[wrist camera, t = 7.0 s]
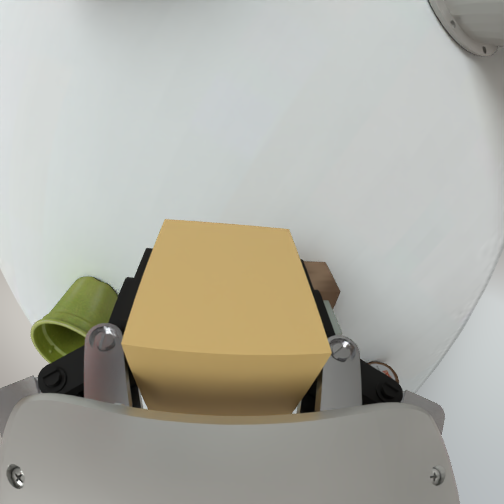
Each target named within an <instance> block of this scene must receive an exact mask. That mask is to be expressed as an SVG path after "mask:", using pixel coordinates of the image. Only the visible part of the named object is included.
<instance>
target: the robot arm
mask: <svg viewBox="0 0 504 504" xmlns="http://www.w3.org/2000/svg"><path fill="white" fill-rule="evenodd" d="M429 2H430V4H431V6H432V8H433V10H434V12H435V14H436V15H437V17H438V18H439V20H440V22H441V23H442V25H443V26H444V27H445V29H446V30H447V31H448V33H449V34H450V35H451V36H452V37H453V38H454V39H455V41H456V42H457V43H459V44H460V45H461V46H462V47H463V48H464V49H466V50H467V51H469V52H470V53H472V54H475V55H479V56H490V55H493V54H494V53H495V52H496V51H497V48H498V46H501V47H504V0H429ZM152 250H153V249H151V248H146V250H145V252H144V255H143V257H142V260H141V262H140V264H139V267H138V269H137V272H136V274H135V277H134V278H131V277H127V278H126V279H125V281H124V283H123V286H122V288H121V290H120V293H119V295H118V298H117V300H116V303H115V306H114V308H113V311H112V314H111V316H110V319H109V322H108V323H101V324H97V325H95V326H93V327H92V328H91V329H90V330H89V331H88V333H87V334H86V338H85V345H83V346H82V347H80V348H78V349H76V350H74V351H72V352H70V353H69V354H67V355H65V356H63V357H61V358H59V359H57V360H56V361H54V362H52V363H50V364H48V365H46V366H45V367H44V368H43V369H42V370H41V371H40V373H39V375H38V377H36V378H35V377H34V376H30V377H28V378H26V379H23V380H20V381H18V382H15V383H13V384H10V385H8V386H5V387H2V388H0V433H1V436H2V441H1V446H0V504H460V501H459V496H458V491H457V487H456V482H455V478H454V474H453V470H452V466H451V462H450V459H449V456H448V453H447V450H446V447H445V444H444V441H443V438H442V436H441V435H442V430H443V425H444V419H445V414H444V411H443V409H442V407H441V406H440V405H438V404H437V403H435V402H432V401H430V400H428V399H426V398H423V397H421V396H419V395H417V394H414V393H412V392H410V391H408V390H406V391H405V392H403V391H402V388H401V386H400V385H399V383H398V382H397V381H395V380H394V379H392V378H391V377H389V376H387V375H386V374H384V373H382V372H381V371H379V370H377V369H376V368H374V367H372V366H371V365H369V364H368V363H366V362H364V361H363V360H361V359H360V353H359V349H358V347H357V345H356V343H354V342H353V341H352V340H351V339H349V338H348V337H345V336H342V335H336V334H335V332H334V329H333V326H332V323H331V320H330V318H329V315H328V312H327V309H326V307H325V304H324V301H323V299H322V296H321V293H320V292H319V290H314V288H313V285H312V283H311V280H310V277H309V274H308V272H307V269H306V266H305V264H304V261H303V260H302V259H300V260H301V263H302V266H303V269H304V271H305V274H306V277H307V280H308V283H309V286H310V288H311V291H312V294H313V297H314V300H315V303H316V306H317V309H318V312H319V315H320V318H321V321H322V324H323V327H324V330H325V333H326V336H327V339H328V342H329V345H330V349H331V352H332V354H331V355H330V357H329V359H328V360H327V362H326V363H325V365H324V367H323V368H322V370H321V371H320V373H319V374H318V376H317V378H316V379H315V381H314V382H313V384H312V385H311V387H310V388H309V390H308V391H307V393H306V394H305V395H304V397H303V398H302V400H301V401H300V403H299V404H298V406H297V414H286V415H267V416H214V415H195V414H182V413H172V412H163V411H155V410H147V409H143V404H142V398H141V393H140V390H139V388H138V386H137V383H136V381H135V379H134V376H133V374H132V371H131V369H130V366H129V364H128V361H127V359H126V356H125V353H124V351H123V348H122V345H121V342H122V339H123V335H124V332H125V329H126V325H127V322H128V319H129V316H130V312H131V309H132V306H133V303H134V300H135V297H136V294H137V291H138V288H139V285H140V282H141V280H142V277H143V274H144V271H145V269H146V266H147V263H148V261H149V258H150V255H151V253H152Z"/></svg>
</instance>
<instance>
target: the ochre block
mask: <svg viewBox="0 0 504 504" xmlns="http://www.w3.org/2000/svg"><path fill="white" fill-rule="evenodd" d="M121 345H122V348H123V351H124V353H125V356H126V359H127V361H128V364H129V366H130V369H131V371H132V374H133V376H134V379H135V381H136V383H137V386H138V388H139V390H140V393H141V395H142V397H143V399H144V401H145V404H146V406H147V408H148V410H155V411H163V412H172V413H182V414H195V415H214V416H267V415H286V414H292V412H293V411H294V410H295V408H296V407H297V405H298V404H299V403H300V401H301V400H302V398H303V397H304V395H305V394H306V393H307V391H308V390H309V388H310V387H311V385H312V384H313V382H314V381H315V379H316V378H317V376H318V374H319V373H320V371H321V370H322V368H323V367H324V365H325V363H326V362H327V360H328V359H329V357H330V355H331V354H332V352H331V349H330V345H329V342H328V339H327V336H326V333H325V330H324V327H323V324H322V321H321V318H320V315H319V312H318V309H317V306H316V303H315V300H314V297H313V294H312V291H311V288H310V286H309V283H308V280H307V277H306V274H305V271H304V269H303V266H302V263H301V260H300V258H299V255H298V252H297V249H296V247H295V244H294V241H293V239H292V236H291V233H290V231H289V229H281V228H270V227H259V226H248V225H236V224H224V223H211V222H198V221H184V220H169V219H165V220H164V223H163V225H162V228H161V230H160V232H159V235H158V237H157V240H156V242H155V245H154V247H153V250H152V253H151V255H150V258H149V261H148V263H147V266H146V269H145V271H144V274H143V277H142V280H141V282H140V285H139V288H138V291H137V294H136V297H135V300H134V303H133V306H132V309H131V312H130V316H129V319H128V322H127V325H126V329H125V332H124V335H123V339H122V342H121Z"/></svg>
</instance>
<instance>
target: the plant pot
mask: <svg viewBox="0 0 504 504" xmlns="http://www.w3.org/2000/svg"><path fill="white" fill-rule="evenodd" d="M117 298H118V297H117V295H116V293H115V292H114V290H113V289H112V288H111V287H110V286H109V285H108V284H106V283H103V282H100V281H98V280H96V279H95V278H94V277H81V278H79V279H77V280H76V281H75V282H74V284H73V285H72V286H71V287H70V288H69V289H68V291H67V292H66V293H65V294H64V296H63V297H62V298H61V299H60V301H59V302H58V303H57V304H56V306H55V307H54V308H53V309H52V310H51V312H50V313H49V314H47V315H46V316H44V317H43V319H41V320H39V321H37V322H36V323H35V324H34V325H33V326H32V328H31V339H32V342H33V344H34V346H35V347H36V349H37V350H38V352H39V353H40V354H41V355H42V357H43V358H44V359H45V360H46V361H47V362H49V363H52V362H54V361H56V360H57V359H59V358H61V357H63V356H65V355H67V354H69V353H70V352H72V351H74V350H76V349H78V348H80V347H82V346H83V345H85V338H86V334H87V333H88V331H89V330H90V329H91V328H92V327H93V326H95V325H97V324H101V323H108V322H109V319H110V316H111V314H112V311H113V308H114V306H115V303H116V300H117Z"/></svg>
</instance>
